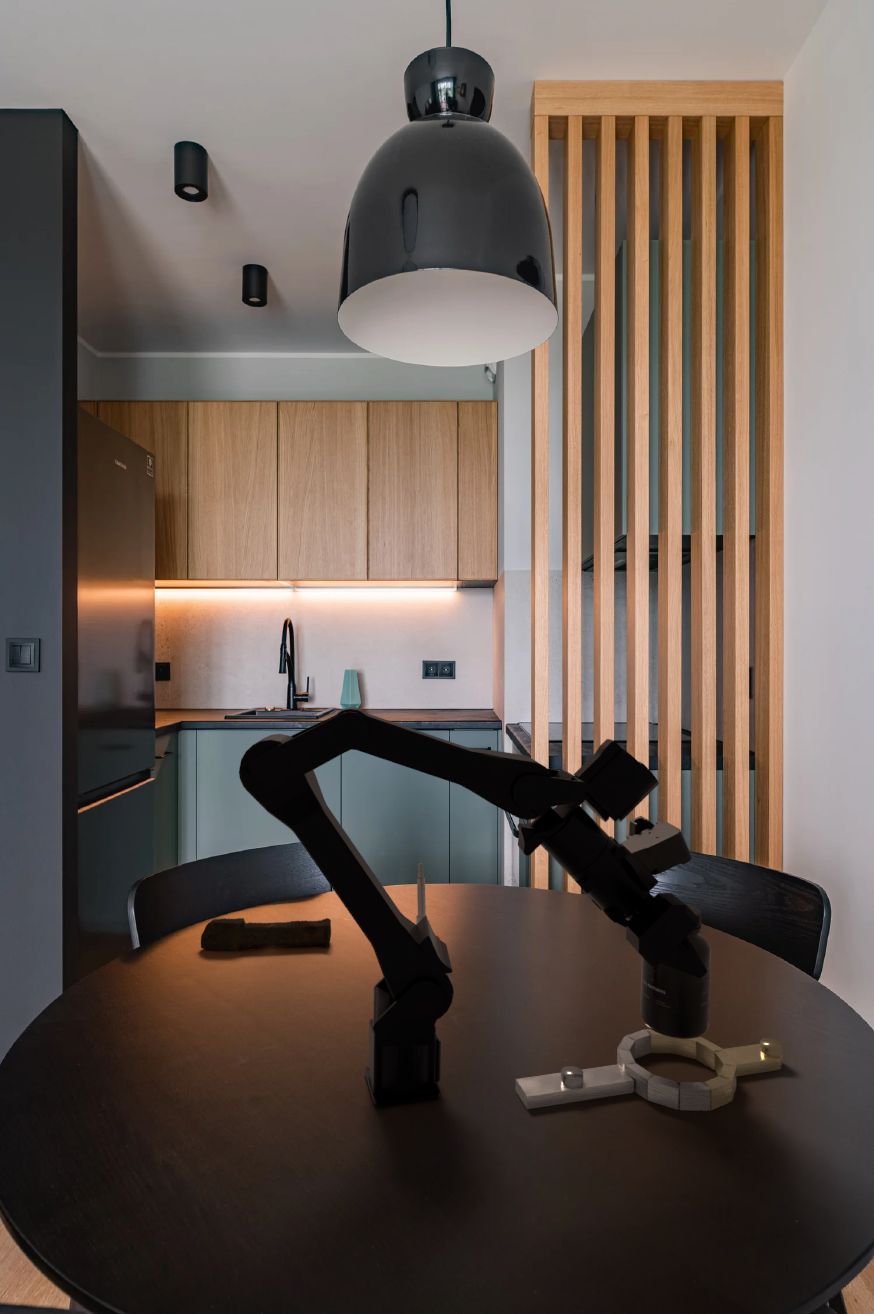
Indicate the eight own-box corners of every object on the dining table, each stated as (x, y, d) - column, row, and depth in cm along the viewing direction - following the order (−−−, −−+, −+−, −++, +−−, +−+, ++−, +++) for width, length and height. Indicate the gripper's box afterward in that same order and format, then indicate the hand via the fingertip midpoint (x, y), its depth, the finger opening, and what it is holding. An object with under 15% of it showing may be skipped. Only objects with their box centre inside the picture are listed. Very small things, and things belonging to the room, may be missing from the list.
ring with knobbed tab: (708, 1111, 69) (708, 1090, 69) (643, 1047, 80) (643, 1029, 80) (821, 1092, 72) (821, 1072, 72) (743, 1033, 84) (743, 1016, 84)
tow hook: (362, 947, 109) (407, 961, 103) (360, 861, 110) (405, 870, 104) (400, 932, 115) (444, 944, 109) (398, 851, 116) (442, 858, 110)
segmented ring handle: (545, 1138, 65) (545, 1116, 65) (500, 1067, 76) (500, 1048, 76) (713, 1110, 69) (713, 1089, 69) (647, 1047, 80) (647, 1029, 80)
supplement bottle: (635, 1031, 73) (636, 912, 73) (645, 1004, 79) (647, 894, 79) (707, 1047, 70) (708, 923, 70) (712, 1018, 76) (713, 903, 77)
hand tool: (331, 940, 111) (331, 910, 111) (330, 950, 107) (330, 919, 107) (205, 945, 109) (205, 914, 109) (199, 955, 105) (199, 923, 105)
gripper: (679, 817, 65) (793, 939, 66) (612, 783, 84) (702, 878, 85) (592, 904, 65) (708, 1026, 65) (544, 850, 83) (635, 946, 84)
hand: (688, 960), depth 75 cm, fingers closed on supplement bottle, 7 cm apart
